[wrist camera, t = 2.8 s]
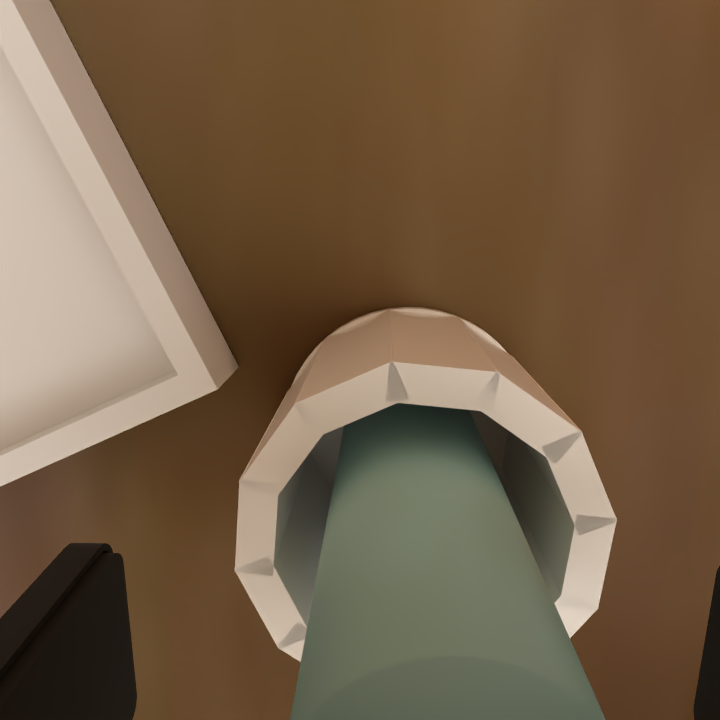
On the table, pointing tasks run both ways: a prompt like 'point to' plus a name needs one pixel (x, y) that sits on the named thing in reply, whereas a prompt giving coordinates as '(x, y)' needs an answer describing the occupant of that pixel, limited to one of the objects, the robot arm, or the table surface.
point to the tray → (83, 265)
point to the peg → (431, 587)
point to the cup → (431, 388)
